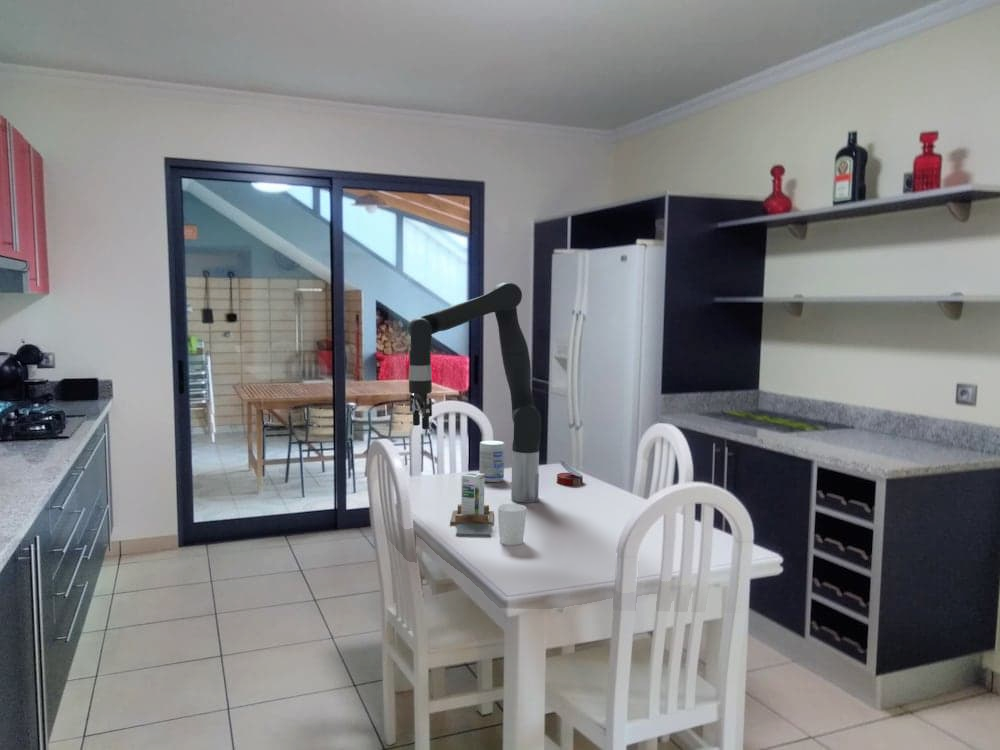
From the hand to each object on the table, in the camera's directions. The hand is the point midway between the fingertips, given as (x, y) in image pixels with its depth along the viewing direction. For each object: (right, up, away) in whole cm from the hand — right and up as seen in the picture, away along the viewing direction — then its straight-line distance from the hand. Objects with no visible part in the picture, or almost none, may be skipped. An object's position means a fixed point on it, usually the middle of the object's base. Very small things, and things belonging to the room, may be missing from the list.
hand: (420, 427), depth 242 cm
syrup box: (+18, -28, -14) cm, 36 cm away
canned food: (+53, -24, +36) cm, 69 cm away
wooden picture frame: (+18, -28, -14) cm, 36 cm away
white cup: (+30, -30, -35) cm, 55 cm away
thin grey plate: (+19, -29, -26) cm, 43 cm away
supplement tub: (+23, -23, +38) cm, 51 cm away
